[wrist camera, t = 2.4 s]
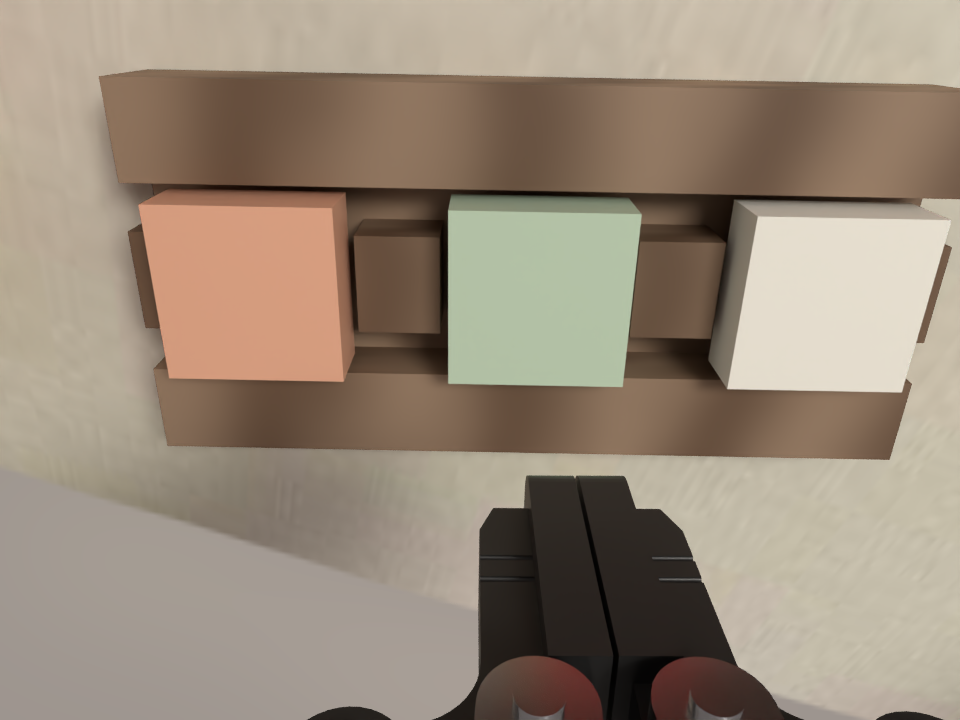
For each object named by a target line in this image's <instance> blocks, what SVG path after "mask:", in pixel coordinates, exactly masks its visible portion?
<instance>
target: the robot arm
mask: <svg viewBox="0 0 960 720" xmlns="http://www.w3.org/2000/svg"><path fill="white" fill-rule="evenodd" d="M478 616H479V619H478V620H479V676H478V679H477V682H476V684H475V686H474V688H473V690H472V691H471V692H470V694H469V695H468V696H467V698H466V699H465V700H464V701H463V702H462V703H461V704H460V705H458V706H457V707H456V708H454V709H453V710H452V711H450V712H448V713H446V714H445V715H443V716H441V717H439V718H436V719H433V720H803V719H800V718H798V717H795V716H793V715H791V714H789V713H786V712H785V711H783V710H781V709H780V708H778V706H777V704H776V702H775V700H774V699H773V697H772V696H771V694H770V693H769V692H768V690H767V689H766V688H765V687H764V686H763V685H762V684H761V683H760V682H759V681H758V680H757V679H756V678H755V677H753V676H752V675H750V674H749V673H747V672H746V671H744V670H743V669H741V668H739V667H738V666H737V664H736V661H735V659H734V656H733V654H732V652H731V649H730V647H729V644H728V642H727V639H726V637H725V634H724V632H723V629H722V627H721V624H720V622H719V620H718V617H717V615H716V612H715V610H714V607H713V605H712V602H711V600H710V597H709V595H708V592H707V590H706V588H705V585H704V583H702V582H701V575H700V573H699V570H698V568H697V565H696V563H695V561H693V555H692V553H691V551H690V548H689V546H688V543H687V541H686V538H685V536H684V533H683V531H682V530H681V529H680V528H679V527H678V526H677V525H676V524H675V523H674V522H673V521H672V520H671V519H670V518H669V517H668V516H667V515H666V514H664V513H663V512H662V511H661V510H660V509H636V508H635V505H634V502H633V499H632V496H631V492H630V489H629V486H628V483H627V481H626V478H625V477H624V476H576V478H574V476H526V482H525V500H524V508H493V509H492V511H491V513H490V514H489V516H488V517H487V519H486V520H485V522H484V524H483V525H482V527H481V528H480V537H479V603H478ZM308 720H391V719H390V718H388V717H387V716H385V715H383V714H381V713H379V712H377V711H374V710H372V709H367V708H362V707H341V708H335V709H331V710H327V711H325V712H322V713H319V714H317V715H315V716H313V717H311V718H310V719H308ZM876 720H942V719H939V718H937V717H934V716H931V715H927V714H922V713H917V712H907V711H905V712H893V713H889V714H885V715H883V716H881V717H879V718H878V719H876Z"/></svg>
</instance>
